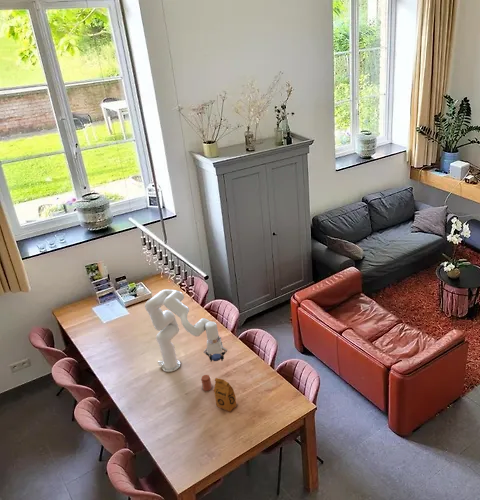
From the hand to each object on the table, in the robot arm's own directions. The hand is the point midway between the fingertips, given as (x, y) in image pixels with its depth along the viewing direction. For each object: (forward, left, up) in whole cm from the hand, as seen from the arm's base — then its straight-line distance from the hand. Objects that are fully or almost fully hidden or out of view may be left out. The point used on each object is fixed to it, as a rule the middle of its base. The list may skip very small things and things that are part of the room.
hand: (216, 359), depth 357 cm
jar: (-8, -7, -18) cm, 21 cm away
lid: (0, 0, +3) cm, 3 cm away
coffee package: (+8, -25, -18) cm, 32 cm away
